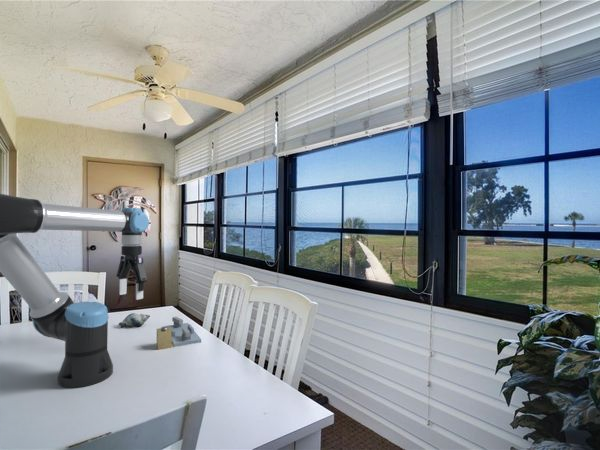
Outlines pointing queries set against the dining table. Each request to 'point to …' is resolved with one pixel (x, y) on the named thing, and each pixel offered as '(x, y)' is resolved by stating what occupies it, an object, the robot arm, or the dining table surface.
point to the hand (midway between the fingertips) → (130, 296)
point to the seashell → (134, 320)
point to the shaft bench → (183, 333)
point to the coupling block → (164, 338)
